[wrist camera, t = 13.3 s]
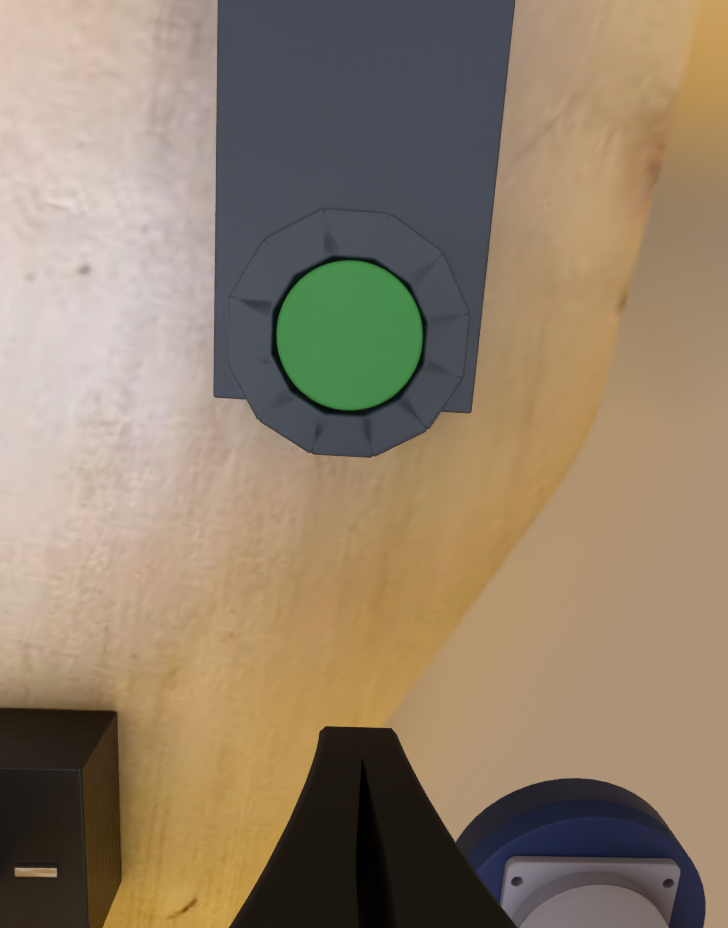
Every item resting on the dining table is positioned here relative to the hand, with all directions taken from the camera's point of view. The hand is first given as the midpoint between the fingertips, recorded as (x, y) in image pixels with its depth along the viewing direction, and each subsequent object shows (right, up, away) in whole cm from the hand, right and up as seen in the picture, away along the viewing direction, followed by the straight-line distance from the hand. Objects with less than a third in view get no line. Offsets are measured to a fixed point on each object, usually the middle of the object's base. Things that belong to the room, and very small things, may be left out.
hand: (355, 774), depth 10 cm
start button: (0, +9, +5) cm, 10 cm away
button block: (0, +16, +7) cm, 18 cm away
